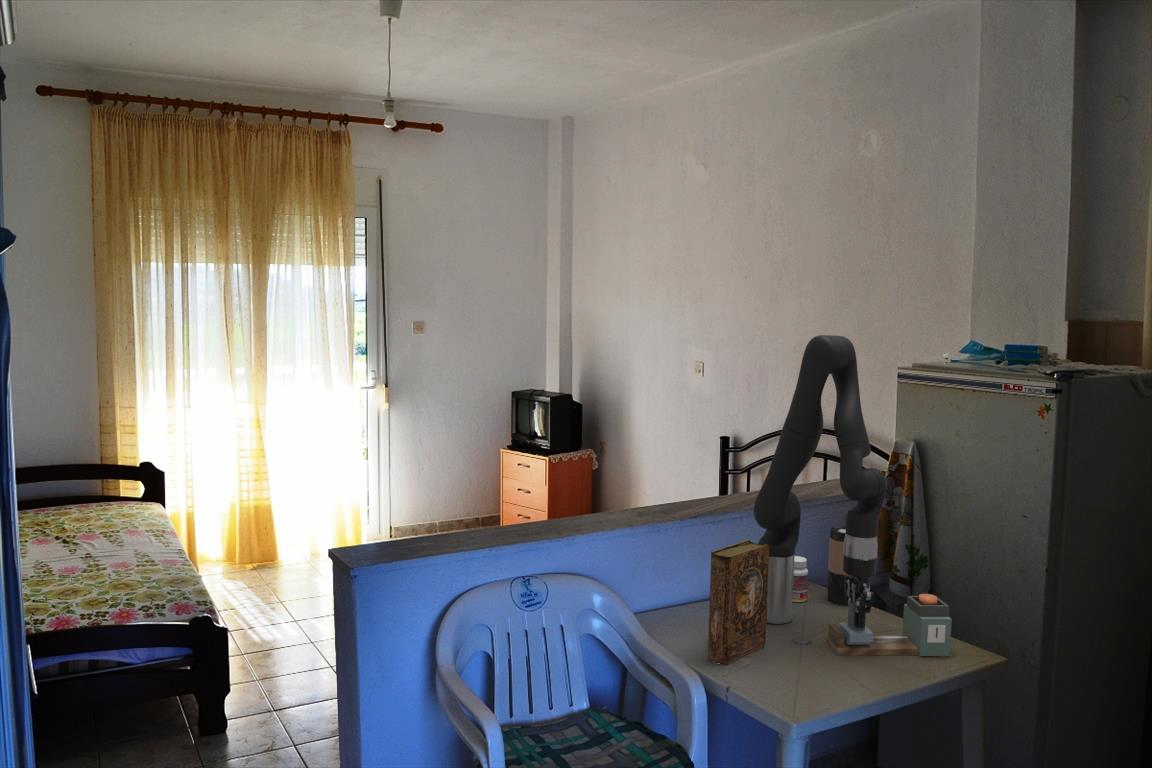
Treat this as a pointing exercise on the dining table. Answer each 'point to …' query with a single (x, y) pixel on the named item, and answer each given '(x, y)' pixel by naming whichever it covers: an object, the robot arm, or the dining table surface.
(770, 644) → the dining table surface
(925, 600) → the button
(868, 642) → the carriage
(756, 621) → the book
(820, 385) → the robot arm
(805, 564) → the pill bottle
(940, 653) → the cabinet
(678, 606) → the dining table surface
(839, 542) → the travel mug
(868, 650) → the rail stand
